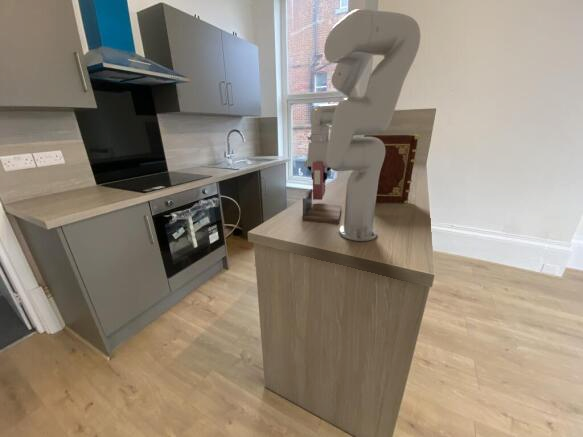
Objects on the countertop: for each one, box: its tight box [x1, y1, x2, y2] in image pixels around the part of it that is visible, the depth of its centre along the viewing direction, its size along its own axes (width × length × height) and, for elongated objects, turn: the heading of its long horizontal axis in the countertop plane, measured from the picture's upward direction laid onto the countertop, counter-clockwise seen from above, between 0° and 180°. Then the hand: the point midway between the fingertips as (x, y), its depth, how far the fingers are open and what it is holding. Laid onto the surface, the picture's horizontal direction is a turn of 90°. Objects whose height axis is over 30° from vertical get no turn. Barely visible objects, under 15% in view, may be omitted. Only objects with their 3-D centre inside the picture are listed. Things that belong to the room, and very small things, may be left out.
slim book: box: [312, 162, 326, 201], centre depth 109 cm, size 12×4×16 cm, turn 166°
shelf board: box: [301, 203, 342, 225], centre depth 100 cm, size 16×14×2 cm
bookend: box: [302, 188, 313, 216], centre depth 100 cm, size 14×1×7 cm, turn 166°
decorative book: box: [363, 134, 420, 205], centre depth 111 cm, size 22×8×30 cm, turn 84°
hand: (319, 180), depth 109 cm, fingers closed on slim book, 4 cm apart
